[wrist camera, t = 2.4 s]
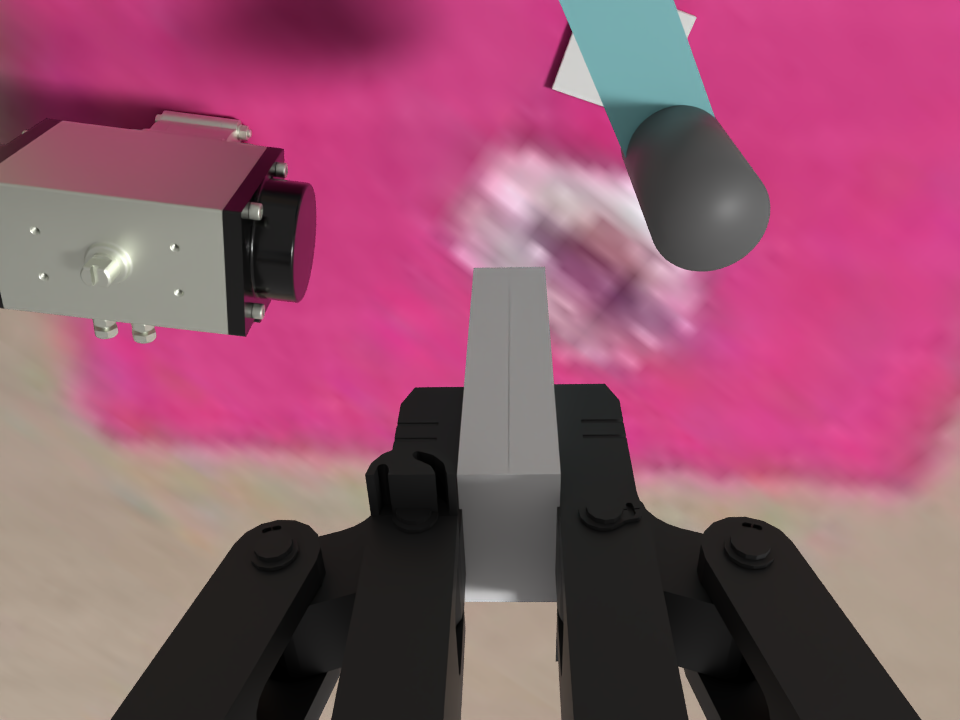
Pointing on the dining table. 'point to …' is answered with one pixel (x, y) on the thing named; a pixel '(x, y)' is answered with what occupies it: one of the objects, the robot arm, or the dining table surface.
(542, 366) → the robot arm
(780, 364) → the dining table surface
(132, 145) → the pneumatic valve
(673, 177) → the crank handle
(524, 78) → the dining table surface
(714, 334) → the dining table surface
